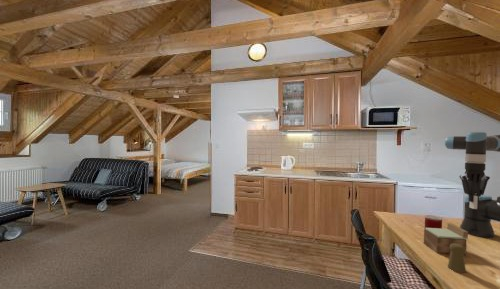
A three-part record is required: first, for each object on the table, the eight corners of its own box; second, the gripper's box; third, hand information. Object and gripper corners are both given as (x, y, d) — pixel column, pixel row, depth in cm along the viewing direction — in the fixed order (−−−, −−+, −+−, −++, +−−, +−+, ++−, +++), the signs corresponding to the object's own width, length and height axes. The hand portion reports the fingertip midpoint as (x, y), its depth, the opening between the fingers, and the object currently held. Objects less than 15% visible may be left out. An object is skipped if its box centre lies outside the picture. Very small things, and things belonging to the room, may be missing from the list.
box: (449, 245, 126) (450, 231, 126) (465, 255, 115) (466, 239, 115) (423, 243, 127) (424, 229, 127) (437, 253, 117) (437, 238, 116)
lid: (451, 230, 125) (451, 223, 125) (467, 239, 115) (467, 231, 114) (425, 229, 127) (425, 222, 127) (438, 237, 116) (439, 230, 116)
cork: (446, 269, 102) (447, 244, 102) (448, 264, 107) (449, 240, 106) (465, 275, 98) (466, 249, 98) (466, 269, 102) (467, 244, 102)
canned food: (444, 238, 134) (445, 219, 133) (428, 237, 135) (429, 218, 135) (436, 233, 141) (437, 215, 141) (421, 232, 143) (422, 214, 143)
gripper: (482, 161, 122) (480, 206, 122) (455, 161, 123) (453, 205, 123) (496, 163, 114) (494, 211, 115) (467, 162, 115) (465, 210, 116)
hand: (473, 208), depth 119 cm, fingers closed
